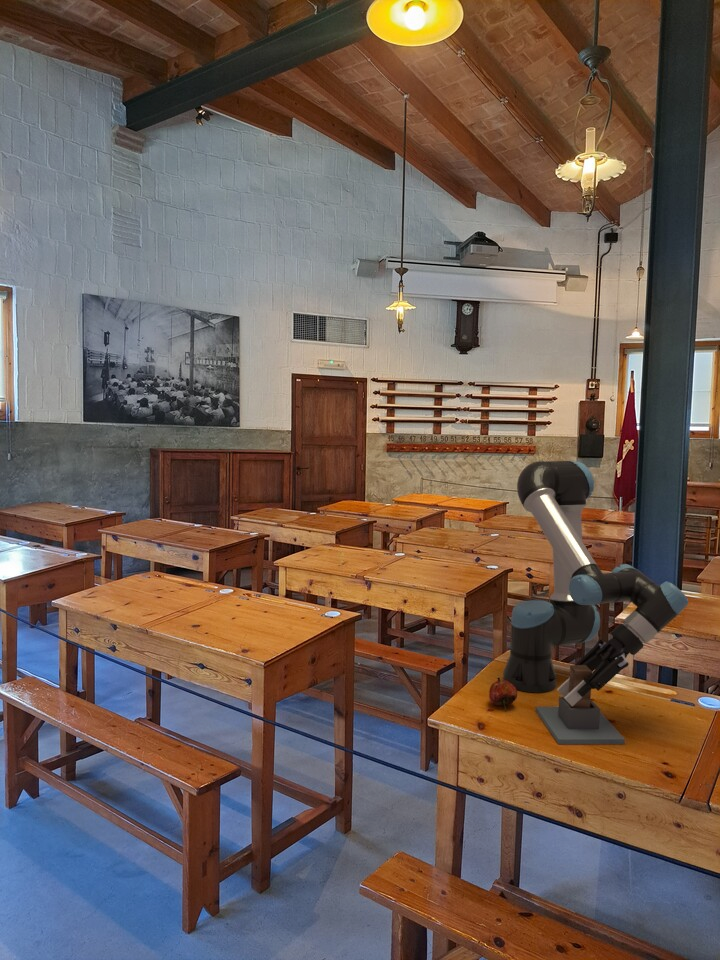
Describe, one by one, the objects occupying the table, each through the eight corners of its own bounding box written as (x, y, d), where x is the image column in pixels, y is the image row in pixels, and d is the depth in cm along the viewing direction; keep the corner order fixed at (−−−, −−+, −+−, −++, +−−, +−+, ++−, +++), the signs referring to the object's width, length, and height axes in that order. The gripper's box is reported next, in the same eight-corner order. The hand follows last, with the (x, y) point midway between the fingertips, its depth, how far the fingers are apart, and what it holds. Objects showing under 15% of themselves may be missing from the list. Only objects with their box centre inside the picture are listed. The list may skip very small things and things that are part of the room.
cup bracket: (535, 711, 176) (536, 688, 175) (595, 711, 177) (596, 688, 176) (558, 744, 158) (559, 719, 157) (624, 744, 159) (626, 719, 158)
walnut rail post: (567, 718, 169) (570, 665, 168) (583, 718, 169) (585, 665, 168) (573, 726, 165) (575, 671, 164) (589, 726, 165) (592, 671, 164)
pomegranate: (519, 718, 176) (514, 684, 184) (519, 704, 172) (515, 670, 179) (491, 719, 178) (487, 685, 185) (490, 705, 173) (486, 671, 180)
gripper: (660, 656, 157) (587, 724, 158) (627, 632, 175) (562, 693, 176) (639, 634, 157) (566, 702, 157) (608, 612, 174) (543, 674, 175)
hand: (564, 697), depth 166 cm, fingers open, 4 cm apart
